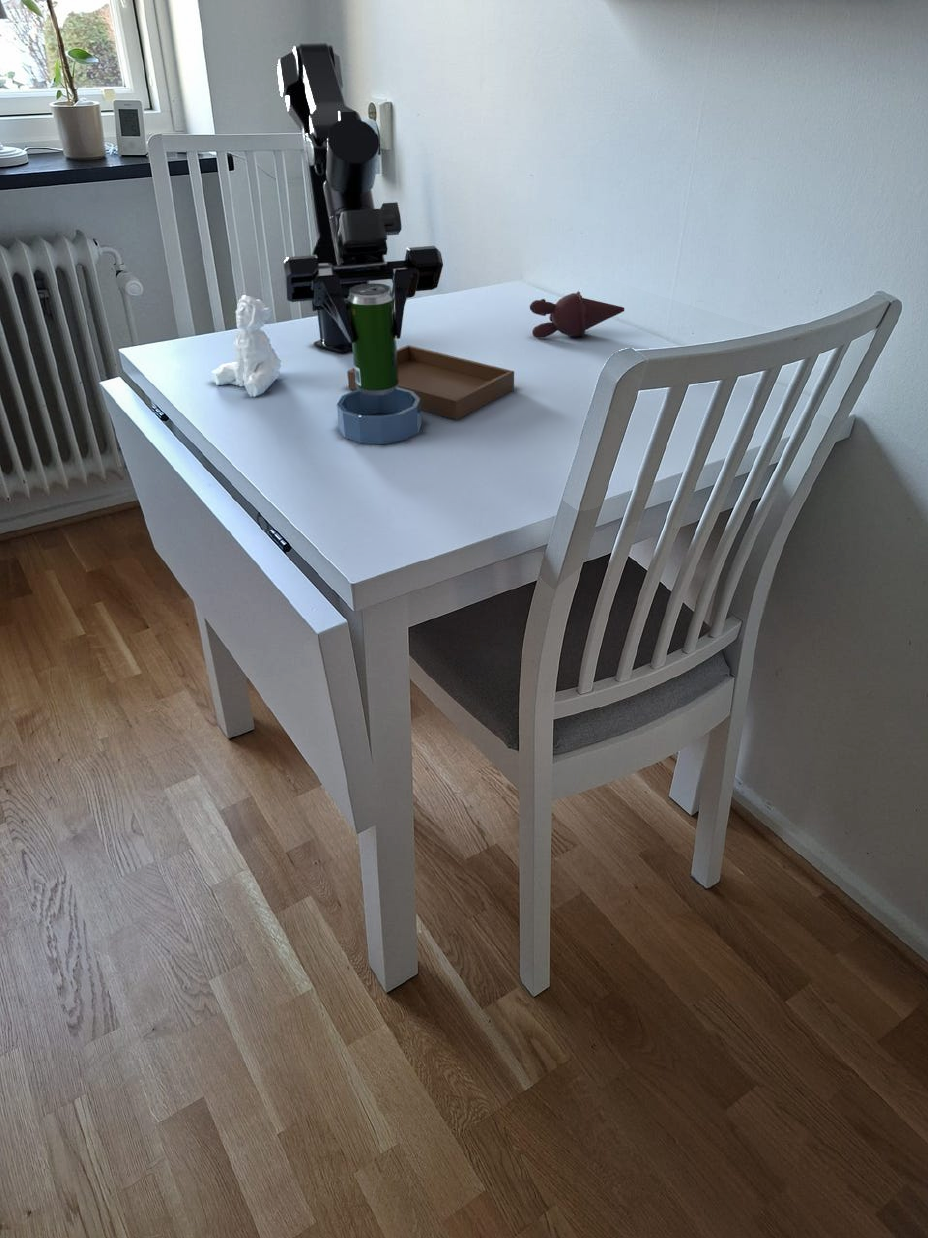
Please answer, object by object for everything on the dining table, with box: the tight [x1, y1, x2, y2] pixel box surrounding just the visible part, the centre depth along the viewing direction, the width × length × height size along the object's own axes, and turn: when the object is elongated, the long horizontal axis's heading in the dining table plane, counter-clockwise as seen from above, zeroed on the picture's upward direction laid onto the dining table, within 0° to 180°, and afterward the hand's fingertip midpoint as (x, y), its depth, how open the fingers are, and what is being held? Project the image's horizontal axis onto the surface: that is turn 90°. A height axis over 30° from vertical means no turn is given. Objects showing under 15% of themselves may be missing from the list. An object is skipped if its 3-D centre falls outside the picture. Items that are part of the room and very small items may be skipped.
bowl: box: [336, 387, 422, 445], centre depth 110 cm, size 10×10×4 cm
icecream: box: [529, 290, 625, 339], centre depth 138 cm, size 7×7×15 cm
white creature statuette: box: [211, 295, 282, 398], centre depth 121 cm, size 10×9×12 cm
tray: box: [346, 344, 515, 421], centre depth 121 cm, size 19×13×3 cm
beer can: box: [348, 282, 399, 396], centre depth 105 cm, size 5×5×12 cm
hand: (375, 339), depth 103 cm, fingers closed on beer can, 5 cm apart
